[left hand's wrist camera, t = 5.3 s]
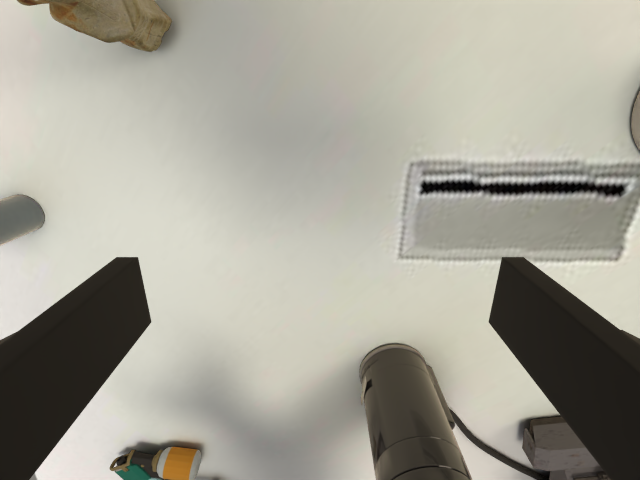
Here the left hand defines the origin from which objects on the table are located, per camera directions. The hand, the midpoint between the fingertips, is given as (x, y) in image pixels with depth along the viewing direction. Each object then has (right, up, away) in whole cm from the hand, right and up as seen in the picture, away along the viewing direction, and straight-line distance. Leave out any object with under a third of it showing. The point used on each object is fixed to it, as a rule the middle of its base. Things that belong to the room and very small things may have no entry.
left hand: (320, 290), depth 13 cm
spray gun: (-23, -36, +44) cm, 62 cm away
